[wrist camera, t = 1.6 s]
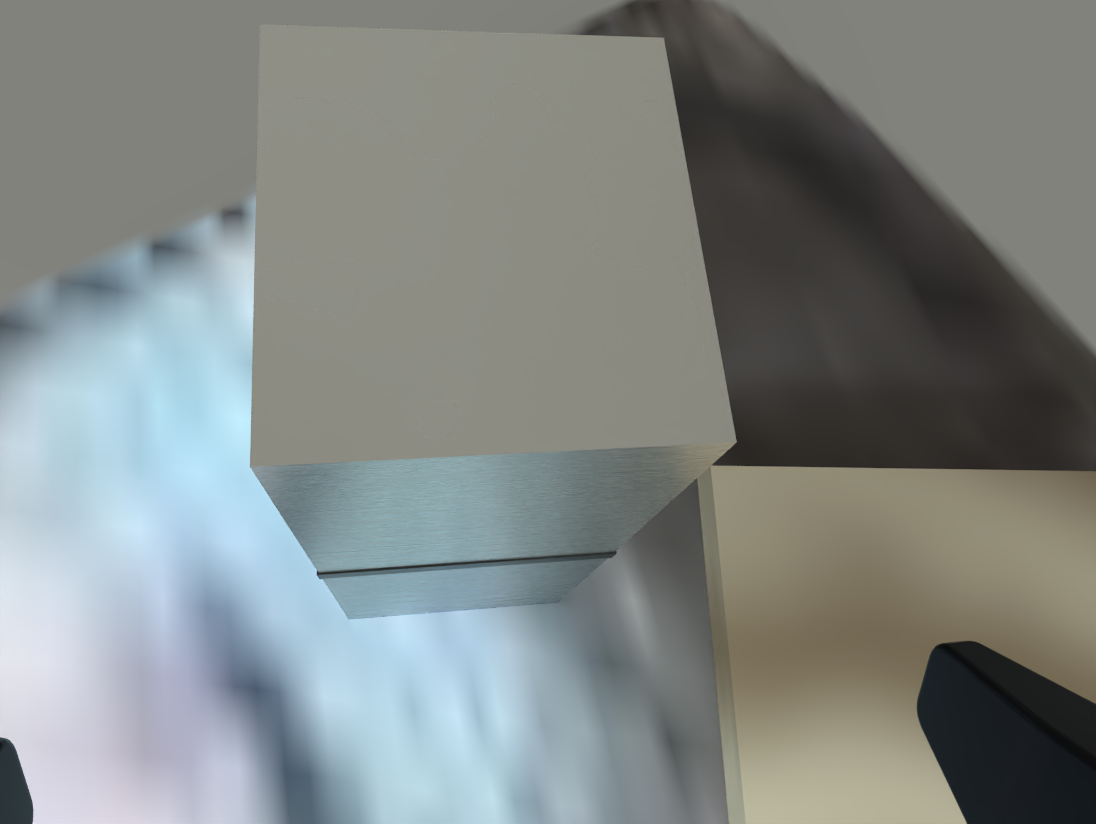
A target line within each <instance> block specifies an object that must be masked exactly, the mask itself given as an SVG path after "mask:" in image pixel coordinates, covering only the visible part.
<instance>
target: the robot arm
mask: <svg viewBox="0 0 1096 824" xmlns="http://www.w3.org/2000/svg"><path fill="white" fill-rule="evenodd" d="M917 716H918V719H919V723H920V726H921V728H922V730H923V732H924V734H925V737H926V739H927V741H928V743H929V745H930V747H931V749H932V751H933V753H934V756H935V758H936V760H937V762H938V764H939V766H940V768H941V770H942V772H943V775H944V777H945V779H946V781H947V783H948V785H949V787H950V789H951V791H952V794H953V796H954V798H955V800H956V802H957V804H958V806H959V808H960V810H961V813H962V815H963V817H964V819H965V821H966V823H967V824H1096V704H1095V703H1093V702H1091V701H1089V700H1088V699H1086V698H1084V697H1082V696H1080V695H1078V694H1076V693H1074V692H1072V691H1070V690H1068V689H1066V688H1065V687H1063V686H1061V685H1059V684H1057V683H1055V682H1053V681H1051V680H1049V679H1047V678H1045V677H1044V676H1042V675H1040V674H1038V673H1036V672H1034V671H1032V670H1030V669H1028V668H1026V667H1024V666H1023V665H1021V664H1019V663H1017V662H1015V661H1013V660H1011V659H1009V658H1007V657H1005V656H1003V655H1002V654H1000V653H998V652H996V651H994V650H992V649H990V648H988V647H986V646H984V645H982V644H980V643H978V642H975V641H957V642H947V643H940V644H938V645H936V646H935V647H934V648H933V650H932V651H931V653H930V656H929V659H928V663H927V666H926V670H925V673H924V677H923V680H922V684H921V688H920V691H919V695H918V698H917ZM32 823H33V803H32V799H31V796H30V792H29V789H28V786H27V783H26V780H25V777H24V774H23V770H22V767H21V764H20V761H19V758H18V755H17V752H16V749H15V747H14V745H13V744H12V742H11V741H10V740H8V739H6V738H0V824H32Z"/></svg>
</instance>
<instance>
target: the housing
mask: <svg viewBox="0 0 1096 824" xmlns="http://www.w3.org/2000/svg"><path fill="white" fill-rule="evenodd" d="M258 95H259V97H258V138H257V183H256V228H255V273H254V318H253V363H252V408H251V453H250V468H251V469H252V471H253V472H254V474H255V475H256V477H257V478H258V480H259V481H260V483H261V485H262V486H263V488H264V489H265V491H266V492H267V494H268V495H269V497H270V498H271V500H272V502H273V503H274V505H275V506H276V508H277V509H278V511H279V512H280V514H281V515H282V517H283V519H284V520H285V522H286V523H287V525H288V526H289V528H290V529H291V531H292V532H293V534H294V536H295V537H296V539H297V540H298V542H299V543H300V545H301V546H302V548H303V550H304V551H305V553H306V554H307V556H308V557H309V559H310V560H311V562H312V563H313V565H314V567H315V568H316V570H317V576H318V578H319V579H323V580H324V582H325V584H326V585H327V587H328V588H329V590H330V591H331V593H332V594H333V596H334V597H335V599H336V601H337V602H338V604H339V605H340V607H341V608H342V610H343V611H344V613H345V614H346V616H347V618H348V619H359V618H372V617H384V616H396V615H409V614H421V613H433V612H446V611H458V610H470V609H483V608H495V607H507V606H520V605H532V604H545V603H557V602H559V601H560V600H561V599H563V598H564V597H565V596H566V595H567V594H568V593H569V592H570V591H571V590H573V589H574V588H575V587H576V586H577V585H578V584H579V583H580V582H582V581H583V580H584V579H585V578H586V577H587V576H588V575H589V574H590V573H592V572H593V571H594V570H595V569H596V568H597V567H598V566H599V565H600V564H602V563H603V562H604V561H605V560H606V559H607V558H612V557H613V556H614V555H615V554H616V550H617V549H618V548H619V547H621V546H622V545H623V544H624V543H625V542H626V541H627V540H628V539H630V538H631V537H632V536H633V535H634V534H635V533H636V532H637V531H638V530H640V529H641V528H642V527H643V526H644V525H645V524H646V523H647V522H648V521H650V520H651V519H652V518H653V517H654V516H655V515H656V514H657V513H659V512H660V511H661V510H662V509H663V508H664V507H665V506H666V505H667V504H669V503H670V502H671V501H672V500H673V499H674V498H675V497H676V496H677V495H679V494H680V493H681V492H682V491H683V490H684V489H685V488H686V487H688V486H689V485H690V484H691V483H692V482H693V481H694V480H695V479H696V478H698V477H699V476H700V475H701V474H702V473H703V472H704V471H705V470H706V469H708V468H709V467H710V466H711V465H712V464H713V463H714V462H715V461H717V460H718V459H719V458H720V457H721V456H722V455H723V454H724V453H725V452H727V451H728V450H729V449H730V448H731V447H732V446H733V445H734V444H735V443H737V441H736V435H735V430H734V424H733V419H732V413H731V408H730V402H729V397H728V391H727V386H726V380H725V374H724V369H723V363H722V358H721V352H720V347H719V341H718V336H717V330H716V325H715V319H714V314H713V308H712V303H711V297H710V291H709V286H708V280H707V275H706V269H705V264H704V258H703V253H702V247H701V242H700V236H699V231H698V225H697V220H696V214H695V208H694V203H693V197H692V192H691V186H690V181H689V175H688V170H687V164H686V159H685V153H684V148H683V142H682V137H681V131H680V125H679V120H678V114H677V109H676V103H675V98H674V92H673V87H672V81H671V76H670V70H669V65H668V59H667V54H666V48H665V42H664V38H654V37H623V36H593V35H562V34H531V33H501V32H471V31H441V30H410V29H380V28H379V29H378V28H347V27H318V26H288V25H287V26H286V25H260V50H259V94H258Z"/></svg>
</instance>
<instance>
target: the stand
mask: <svg viewBox="0 0 1096 824" xmlns="http://www.w3.org/2000/svg"><path fill="white" fill-rule="evenodd" d="M697 481H698V492H699V503H700V514H701V524H702V535H703V546H704V557H705V568H706V579H707V589H708V600H709V611H710V622H711V633H712V644H713V655H714V665H715V676H716V687H717V698H718V709H719V720H720V731H721V741H722V752H723V763H724V774H725V785H726V796H727V807H728V817H729V824H967V823H966V821H965V819H964V817H963V815H962V813H961V810H960V808H959V806H958V804H957V802H956V800H955V798H954V796H953V794H952V791H951V789H950V787H949V785H948V783H947V781H946V779H945V777H944V775H943V772H942V770H941V768H940V766H939V764H938V762H937V760H936V758H935V756H934V753H933V751H932V749H931V747H930V745H929V743H928V741H927V739H926V737H925V734H924V732H923V730H922V728H921V726H920V723H919V719H918V716H917V698H918V695H919V691H920V688H921V684H922V680H923V677H924V673H925V670H926V666H927V663H928V659H929V656H930V653H931V651H932V650H933V648H934V647H935V646H936V645H938V644H940V643H947V642H957V641H975V642H978V643H980V644H982V645H984V646H986V647H988V648H990V649H992V650H994V651H996V652H998V653H1000V654H1002V655H1003V656H1005V657H1007V658H1009V659H1011V660H1013V661H1015V662H1017V663H1019V664H1021V665H1023V666H1024V667H1026V668H1028V669H1030V670H1032V671H1034V672H1036V673H1038V674H1040V675H1042V676H1044V677H1045V678H1047V679H1049V680H1051V681H1053V682H1055V683H1057V684H1059V685H1061V686H1063V687H1065V688H1066V689H1068V690H1070V691H1072V692H1074V693H1076V694H1078V695H1080V696H1082V697H1084V698H1086V699H1088V700H1089V701H1091V702H1093V703H1095V704H1096V471H1041V470H973V469H905V468H836V467H768V466H710V467H709V468H708V469H706V470H705V471H704V472H703V473H702V474H701V475H700V476H699V477H698V478H697Z"/></svg>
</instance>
